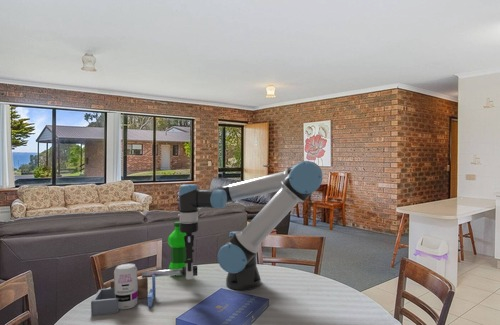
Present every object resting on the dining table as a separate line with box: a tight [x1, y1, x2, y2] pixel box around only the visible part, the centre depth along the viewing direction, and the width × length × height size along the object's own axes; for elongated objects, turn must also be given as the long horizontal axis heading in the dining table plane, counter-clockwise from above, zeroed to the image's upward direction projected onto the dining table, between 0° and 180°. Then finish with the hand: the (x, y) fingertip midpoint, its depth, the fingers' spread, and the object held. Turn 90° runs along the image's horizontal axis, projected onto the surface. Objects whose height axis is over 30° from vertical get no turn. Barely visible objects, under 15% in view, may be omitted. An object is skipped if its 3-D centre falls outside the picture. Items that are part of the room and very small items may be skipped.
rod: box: [141, 265, 198, 308], centre depth 136 cm, size 22×13×11 cm, turn 100°
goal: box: [90, 287, 119, 316], centre depth 129 cm, size 9×12×5 cm
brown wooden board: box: [109, 277, 149, 299], centre depth 137 cm, size 14×1×8 cm, turn 100°
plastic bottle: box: [167, 221, 186, 277], centre depth 165 cm, size 10×10×25 cm
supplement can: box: [113, 262, 139, 310], centre depth 130 cm, size 8×8×15 cm
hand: (189, 273), depth 141 cm, fingers open, 13 cm apart
